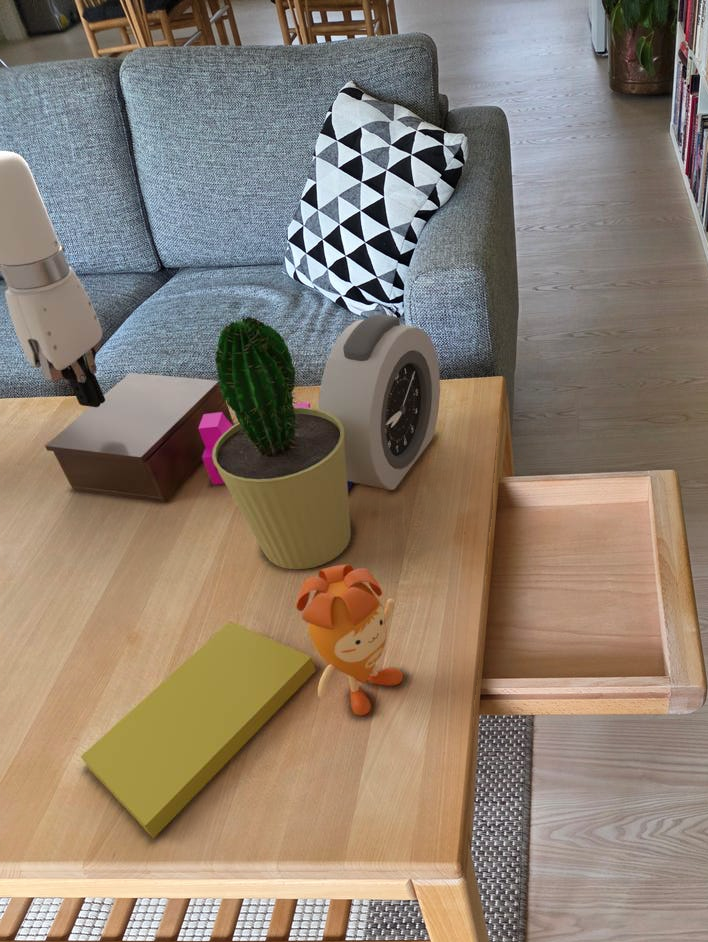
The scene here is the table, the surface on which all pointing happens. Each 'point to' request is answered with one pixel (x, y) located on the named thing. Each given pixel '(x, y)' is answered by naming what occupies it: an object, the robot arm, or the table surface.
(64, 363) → the robot arm
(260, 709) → the flat olive board
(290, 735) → the table surface
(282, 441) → the potted cactus
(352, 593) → the toy figure
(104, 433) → the lid
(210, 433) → the toy block
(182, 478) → the chest
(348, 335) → the alarm clock
